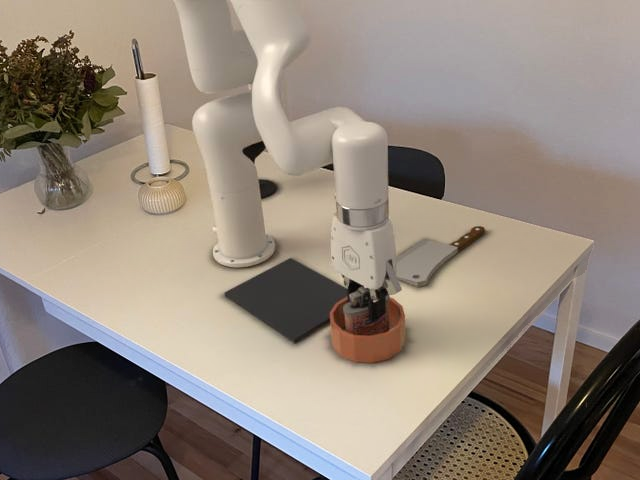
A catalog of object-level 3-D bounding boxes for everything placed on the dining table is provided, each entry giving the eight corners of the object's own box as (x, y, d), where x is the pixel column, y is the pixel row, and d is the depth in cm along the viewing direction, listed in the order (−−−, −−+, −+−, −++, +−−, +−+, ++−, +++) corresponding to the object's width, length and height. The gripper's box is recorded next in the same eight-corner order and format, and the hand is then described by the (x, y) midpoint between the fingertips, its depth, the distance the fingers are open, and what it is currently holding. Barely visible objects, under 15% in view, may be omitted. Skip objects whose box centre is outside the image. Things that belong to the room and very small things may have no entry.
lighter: (352, 353, 106) (349, 302, 101) (341, 342, 109) (337, 291, 103) (394, 335, 109) (393, 285, 104) (383, 325, 112) (381, 275, 106)
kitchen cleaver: (453, 217, 138) (495, 230, 132) (453, 222, 139) (495, 234, 132) (376, 268, 125) (418, 285, 119) (376, 273, 126) (419, 290, 119)
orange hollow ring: (316, 340, 110) (314, 316, 107) (368, 308, 116) (367, 284, 113) (367, 373, 102) (366, 348, 99) (420, 337, 108) (420, 312, 105)
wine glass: (276, 198, 155) (266, 115, 144) (232, 201, 155) (218, 119, 145) (278, 179, 164) (269, 99, 153) (236, 182, 164) (224, 103, 153)
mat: (224, 296, 123) (224, 292, 122) (290, 261, 131) (290, 257, 131) (294, 343, 110) (294, 339, 109) (363, 301, 118) (363, 297, 117)
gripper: (304, 201, 100) (314, 300, 110) (387, 238, 89) (389, 345, 98) (341, 184, 104) (347, 281, 113) (424, 217, 92) (423, 322, 102)
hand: (366, 310), depth 106 cm, fingers closed on lighter, 3 cm apart
